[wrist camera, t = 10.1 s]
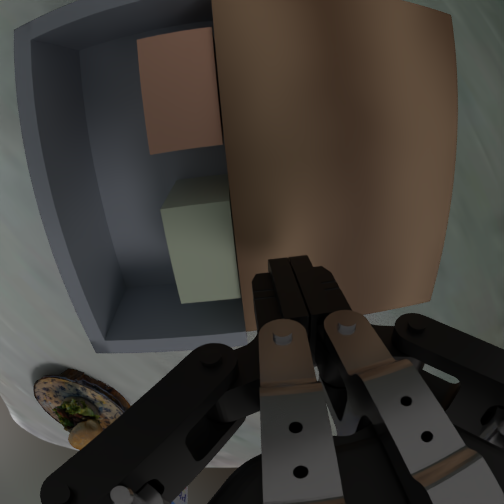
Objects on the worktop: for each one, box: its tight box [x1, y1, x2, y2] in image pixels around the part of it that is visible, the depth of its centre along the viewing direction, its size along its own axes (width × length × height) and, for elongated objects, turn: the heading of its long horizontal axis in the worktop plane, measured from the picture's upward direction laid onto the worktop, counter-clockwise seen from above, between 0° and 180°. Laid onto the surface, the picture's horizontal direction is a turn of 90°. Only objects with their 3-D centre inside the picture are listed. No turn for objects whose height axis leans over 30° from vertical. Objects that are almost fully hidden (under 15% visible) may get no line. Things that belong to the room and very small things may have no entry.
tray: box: [14, 0, 248, 353], centre depth 15 cm, size 9×18×6 cm, turn 4°
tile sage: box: [160, 174, 241, 304], centre depth 16 cm, size 5×5×3 cm
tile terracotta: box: [137, 27, 224, 155], centre depth 13 cm, size 5×5×3 cm
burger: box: [34, 368, 131, 450], centre depth 25 cm, size 12×12×8 cm
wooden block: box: [211, 0, 458, 332], centre depth 15 cm, size 11×16×6 cm
